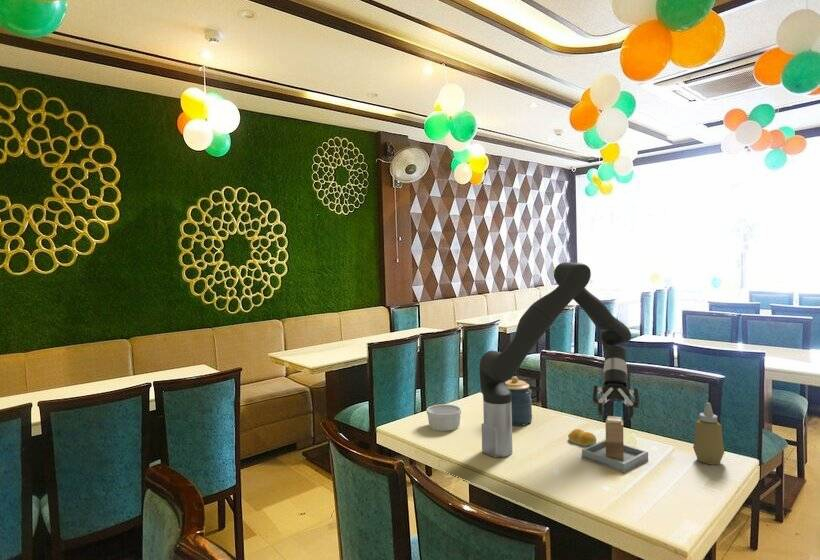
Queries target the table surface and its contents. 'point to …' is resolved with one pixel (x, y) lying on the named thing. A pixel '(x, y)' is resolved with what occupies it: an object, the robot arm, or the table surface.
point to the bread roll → (582, 438)
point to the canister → (520, 401)
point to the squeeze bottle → (708, 438)
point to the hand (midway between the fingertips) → (615, 416)
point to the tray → (630, 459)
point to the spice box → (614, 438)
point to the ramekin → (444, 417)
